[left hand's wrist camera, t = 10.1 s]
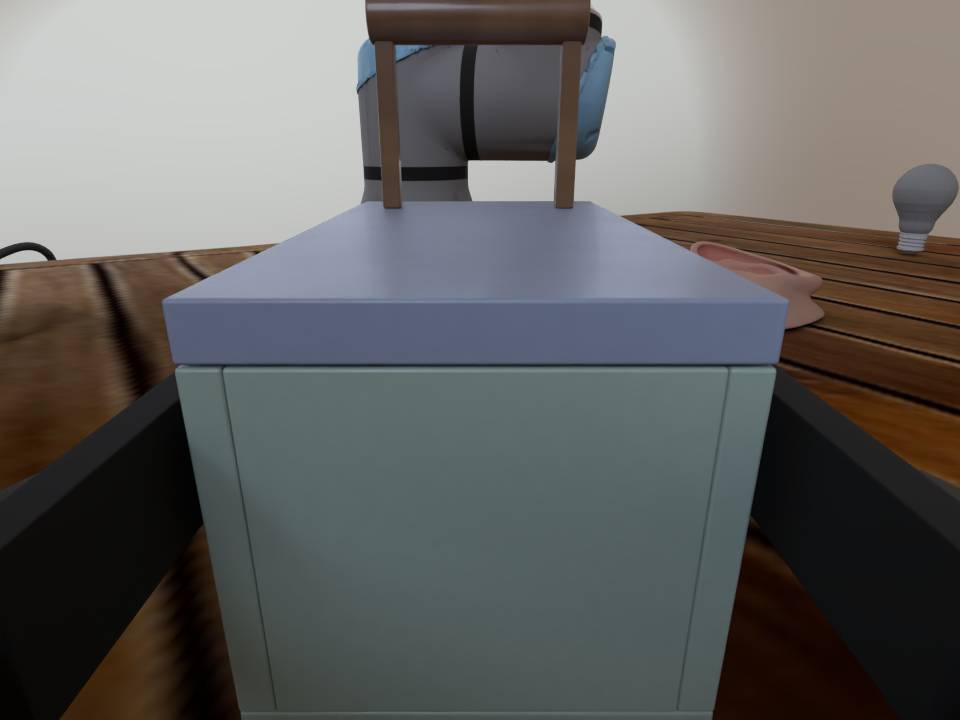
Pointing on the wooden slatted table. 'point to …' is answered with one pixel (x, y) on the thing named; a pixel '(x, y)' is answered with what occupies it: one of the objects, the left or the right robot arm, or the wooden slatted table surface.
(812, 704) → the wooden slatted table surface
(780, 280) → the anatomical model
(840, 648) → the wooden slatted table surface
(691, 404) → the chest
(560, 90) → the lid
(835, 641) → the wooden slatted table surface
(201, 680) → the wooden slatted table surface
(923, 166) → the light bulb
